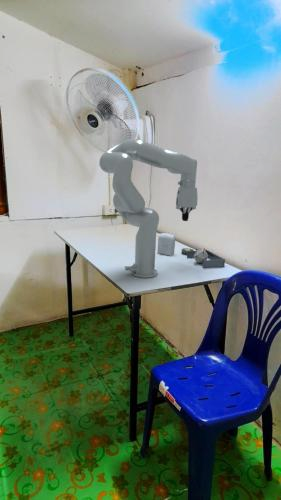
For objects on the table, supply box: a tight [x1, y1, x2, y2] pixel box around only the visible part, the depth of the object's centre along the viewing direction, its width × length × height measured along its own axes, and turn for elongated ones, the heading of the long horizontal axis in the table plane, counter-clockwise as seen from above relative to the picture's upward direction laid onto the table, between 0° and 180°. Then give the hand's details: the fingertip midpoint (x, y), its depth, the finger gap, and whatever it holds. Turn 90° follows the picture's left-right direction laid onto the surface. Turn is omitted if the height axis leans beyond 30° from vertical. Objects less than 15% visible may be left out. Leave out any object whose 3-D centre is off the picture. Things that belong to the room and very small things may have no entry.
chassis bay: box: [186, 249, 226, 270], centre depth 177 cm, size 14×19×4 cm
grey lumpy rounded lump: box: [192, 248, 210, 265], centre depth 174 cm, size 9×8×10 cm
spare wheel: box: [181, 247, 195, 256], centre depth 192 cm, size 7×7×3 cm
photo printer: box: [157, 232, 176, 257], centre depth 188 cm, size 10×4×12 cm, turn 60°
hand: (184, 220), depth 167 cm, fingers closed
